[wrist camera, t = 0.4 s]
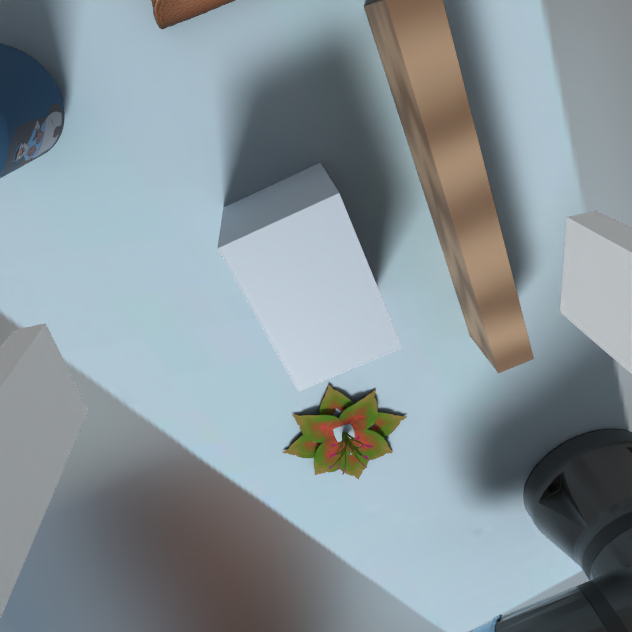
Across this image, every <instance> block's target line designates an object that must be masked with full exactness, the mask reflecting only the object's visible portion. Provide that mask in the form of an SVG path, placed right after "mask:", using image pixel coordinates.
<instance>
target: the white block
mask: <svg viewBox="0 0 632 632" xmlns="http://www.w3.org/2000/svg"><path fill="white" fill-rule="evenodd" d="M218 250H219V252H220V254H221V255H222V257H223V259H224V261H225V262H226V264H227V266H228V268H229V270H230V271H231V273H232V275H233V277H234V278H235V280H236V282H237V284H238V286H239V287H240V289H241V291H242V293H243V294H244V296H245V298H246V300H247V302H248V303H249V305H250V307H251V309H252V310H253V312H254V314H255V316H256V318H257V319H258V321H259V323H260V325H261V326H262V328H263V330H264V332H265V334H266V335H267V337H268V339H269V341H270V342H271V344H272V346H273V348H274V350H275V351H276V353H277V355H278V357H279V358H280V360H281V362H282V364H283V366H284V367H285V369H286V371H287V373H288V374H289V376H290V378H291V380H292V382H293V383H294V385H295V387H296V389H297V390H298V392H300V391H302V390H304V389H307V388H309V387H311V386H314V385H316V384H318V383H321V382H323V381H326V380H328V379H330V378H333V377H335V376H337V375H340V374H342V373H345V372H347V371H349V370H352V369H354V368H356V367H359V366H361V365H363V364H366V363H368V362H371V361H373V360H375V359H378V358H380V357H382V356H385V355H387V354H390V353H392V352H394V351H397V350H399V349H401V348H402V345H401V343H400V341H399V338H398V336H397V333H396V331H395V328H394V326H393V323H392V321H391V318H390V316H389V314H388V311H387V309H386V306H385V304H384V301H383V299H382V296H381V294H380V292H379V289H378V287H377V284H376V282H375V279H374V277H373V274H372V272H371V269H370V267H369V265H368V262H367V260H366V257H365V255H364V252H363V250H362V247H361V245H360V242H359V240H358V238H357V235H356V233H355V230H354V228H353V225H352V223H351V220H350V218H349V215H348V213H347V211H346V208H345V206H344V203H343V201H342V198H341V196H340V193H339V192H338V190H337V188H336V187H335V185H334V183H333V182H332V180H331V179H330V177H329V175H328V174H327V172H326V170H325V169H324V167H323V166H322V164H321V162H320V163H318V164H316V165H313V166H311V167H309V168H307V169H305V170H303V171H301V172H298V173H296V174H294V175H292V176H290V177H288V178H285V179H283V180H281V181H279V182H277V183H275V184H273V185H270V186H268V187H266V188H264V189H262V190H260V191H257V192H255V193H253V194H251V195H249V196H247V197H245V198H242V199H240V200H238V201H236V202H234V203H232V204H229V205H227V206H225V207H223V214H222V221H221V228H220V235H219V242H218Z"/></svg>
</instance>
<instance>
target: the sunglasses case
mask: <svg viewBox="0 0 632 632" xmlns="http://www.w3.org/2000/svg"><path fill="white" fill-rule="evenodd" d="M233 1H235V0H152V6H153V11H154V12H153V13H154V16H155V20H156V22H157V24H158V26H159V28H161V29H165V28H166V27H169V26H173V25H175V24H177V23H180V22H183V21H185V20H188V19H191V18H193V17H195V16H199V15H200V14H203V13H206V12H208V11H210V10H213V9H215V8H218V7H220V6H222V5H225V4H227V3H230V2H233Z"/></svg>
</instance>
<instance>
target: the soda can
mask: <svg viewBox="0 0 632 632" xmlns="http://www.w3.org/2000/svg"><path fill="white" fill-rule="evenodd" d="M63 125H64V107H63V102H62V98H61V95H60V93H59V90H58V88H57V86H56V84H55V82H54V81H53V79H52V78H51V76H50V75H49V74H48V73H47V71H46V70H45V69H44V68H43V67H42V66H41V65H40V64H39V63H38V62H37V61H35V60H34V59H33V58H32V57H30V56H29V55H27V54H26V53H24V52H22V51H20V50H18V49H16V48H13V47H11V46H7V45H4V44H0V178H1V177H3V176H5V175H7V174H9V173H10V172H12V171H14V170H16V169H18V168H20V167H21V166H23V165H25V164H27V163H29V162H31V161H32V160H34V159H36V158H38V157H40V156H41V155H43V154H45V153H46V152H48V151H49V150H50V149H51V148H52V147H53V146H54V145H55V144H56V142H57V141H58V139H59V137H60V135H61V133H62V130H63Z"/></svg>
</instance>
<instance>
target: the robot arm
mask: <svg viewBox="0 0 632 632" xmlns="http://www.w3.org/2000/svg"><path fill="white" fill-rule="evenodd" d="M560 313H561V314H562V315H564V316H565V317H566V318H567V319H568V320H569V321H570V322H572V323H573V324H574V325H575V326H576V327H577V328H579V329H580V330H581V331H582V332H583V333H584V334H586V335H587V336H588V337H589V338H590V339H591V340H593V341H594V342H595V343H596V344H597V345H598V346H599V347H601V348H602V349H603V350H604V351H605V352H606V353H608V354H609V355H610V356H611V357H612V358H613V359H615V360H616V361H617V362H618V363H619V364H620V365H621V366H623V367H624V368H625V369H626V370H627V371H628V372H630V373H631V374H632V228H630V227H628V226H626V225H624V224H622V223H620V222H618V221H616V220H614V219H612V218H610V217H607V216H606V215H603V214H602V213H599V212H597V211H595V212H590V213H585V214H580V215H575V216H570V217H567V223H566V237H565V250H564V264H563V277H562V291H561V305H560ZM87 413H88V409H87V407H86V405H85V403H84V401H83V399H82V397H81V395H80V393H79V391H78V389H77V386H76V384H75V383H74V380H73V378H72V376H71V374H70V372H69V370H68V368H67V366H66V364H65V362H64V360H63V358H62V356H61V354H60V352H59V350H58V348H57V346H56V344H55V342H54V340H53V337H52V335H51V333H50V331H49V329H48V327H47V325H46V324H41V325H36V326H31V327H26V328H21V329H17V330H14V331H13V332H12V334H11V335H10V336H9V337H8V338H7V340H6V341H5V342H4V343H3V345H2V346H1V347H0V618H1V615H2V613H3V611H4V608H5V606H6V604H7V601H8V599H9V596H10V594H11V592H12V590H13V587H14V585H15V582H16V580H17V578H18V576H19V573H20V571H21V568H22V566H23V564H24V561H25V559H26V557H27V554H28V552H29V550H30V547H31V545H32V543H33V540H34V538H35V536H36V533H37V531H38V529H39V526H40V523H41V521H42V519H43V517H44V514H45V512H46V510H47V507H48V505H49V503H50V500H51V498H52V495H53V493H54V491H55V489H56V486H57V484H58V481H59V479H60V477H61V474H62V472H63V470H64V467H65V465H66V463H67V460H68V458H69V456H70V453H71V451H72V448H73V446H74V444H75V442H76V439H77V437H78V434H79V432H80V430H81V427H82V425H83V423H84V420H85V418H86V416H87ZM524 504H525V508H526V510H527V512H528V514H529V515H530V517H531V519H532V520H533V522H534V524H535V525H536V527H537V528H538V529H539V530H540V531H541V533H542V534H544V535H545V536H546V537H547V538H548V539H549V540H550V541H552V542H553V543H554V544H555V545H556V546H557V547H559V548H560V549H561V550H562V551H563V552H564V553H565V554H567V555H568V556H569V557H570V558H571V559H572V560H574V561H575V562H576V563H577V564H578V565H579V566H580V567H581V568H582V569H583V571H584V572H585V574H586V575H587V577H588V578H589V580H590V581H588V582H586V583H583V584H581V585H579V586H576V587H573V588H571V589H568V590H566V591H564V592H561V593H558V594H556V595H554V596H551V597H548V598H546V599H543V600H541V601H538V602H536V603H534V604H531V605H529V606H526V607H524V608H521V609H519V610H516V611H514V612H511V613H509V614H506V615H504V616H503V615H498V616H496V617H495V618H494V619H493V621H491V622H489V623H487V624H485V625H483V626H481V627H479V628H477V629H475V630H473V631H471V632H632V432H629V431H625V430H616V429H609V430H600V431H595V432H591V433H587V434H584V435H581V436H578V437H576V438H574V439H572V440H569V441H568V442H566V443H564V444H562V445H561V446H559V447H557V448H556V449H555V450H553V451H552V452H551V453H549V454H548V455H547V456H546V457H545V458H544V459H543V460H542V461H541V462H540V463H539V464H538V465H537V466H536V468H535V469H534V470H533V472H532V473H531V475H530V477H529V479H528V481H527V483H526V486H525V490H524Z"/></svg>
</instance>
